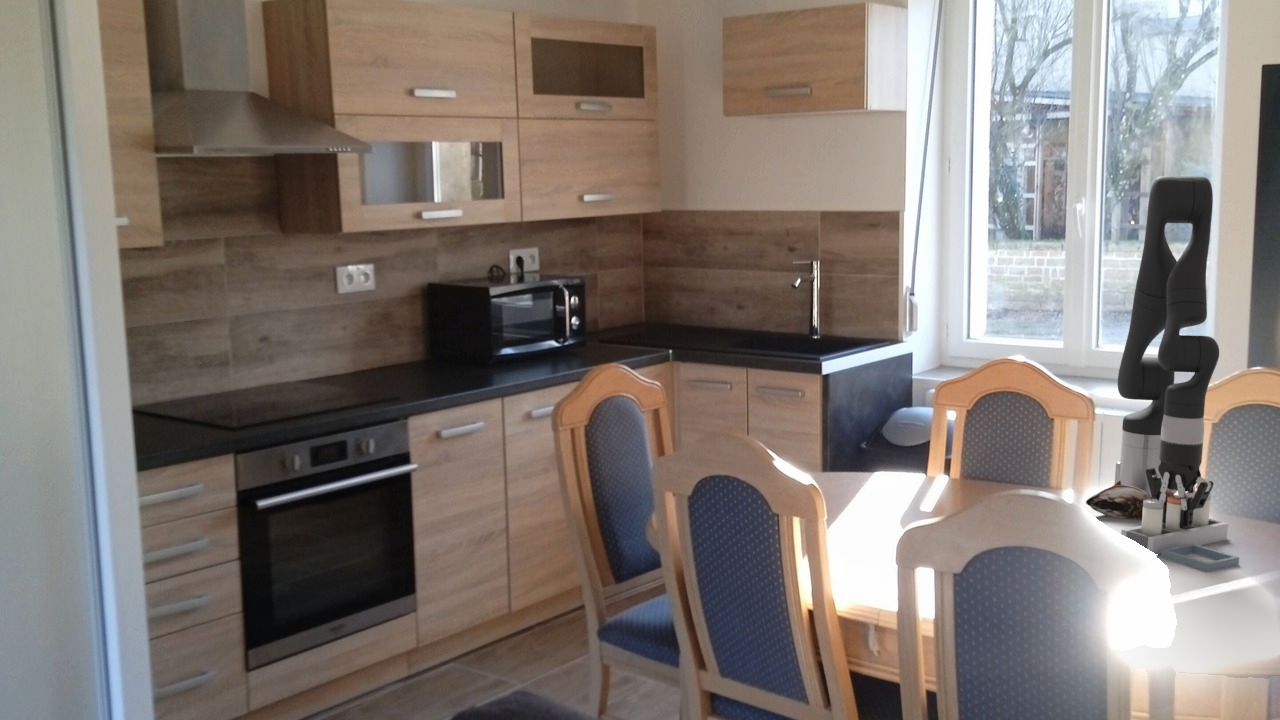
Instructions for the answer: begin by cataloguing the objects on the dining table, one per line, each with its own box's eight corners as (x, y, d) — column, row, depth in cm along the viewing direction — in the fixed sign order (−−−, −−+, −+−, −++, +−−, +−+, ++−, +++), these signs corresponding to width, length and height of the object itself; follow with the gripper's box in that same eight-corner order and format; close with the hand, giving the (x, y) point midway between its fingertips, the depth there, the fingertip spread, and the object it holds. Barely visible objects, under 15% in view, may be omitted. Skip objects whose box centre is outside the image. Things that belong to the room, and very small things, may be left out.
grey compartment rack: (1115, 551, 240) (1117, 528, 239) (1193, 535, 251) (1194, 513, 251) (1152, 562, 233) (1154, 540, 232) (1230, 545, 244) (1232, 524, 243)
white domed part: (1183, 536, 246) (1186, 492, 245) (1195, 534, 248) (1198, 490, 246) (1199, 541, 243) (1203, 496, 241) (1211, 538, 245) (1214, 494, 243)
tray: (1160, 563, 232) (1161, 550, 232) (1191, 556, 237) (1192, 543, 236) (1207, 578, 224) (1208, 564, 224) (1238, 571, 228) (1239, 557, 228)
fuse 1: (1135, 546, 239) (1139, 500, 238) (1148, 543, 241) (1151, 498, 239) (1151, 551, 236) (1155, 505, 235) (1164, 548, 238) (1167, 502, 236)
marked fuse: (1160, 541, 242) (1163, 496, 241) (1172, 538, 244) (1175, 494, 243) (1176, 546, 239) (1179, 500, 238) (1188, 543, 241) (1191, 498, 240)
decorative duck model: (1185, 501, 253) (1123, 503, 248) (1179, 536, 254) (1117, 539, 250) (1137, 477, 266) (1077, 478, 262) (1132, 510, 268) (1072, 512, 264)
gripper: (1227, 443, 234) (1220, 532, 237) (1163, 430, 247) (1156, 514, 249) (1201, 447, 231) (1194, 537, 233) (1137, 433, 243) (1131, 519, 245)
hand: (1175, 525), depth 241 cm, fingers closed on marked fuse, 3 cm apart
